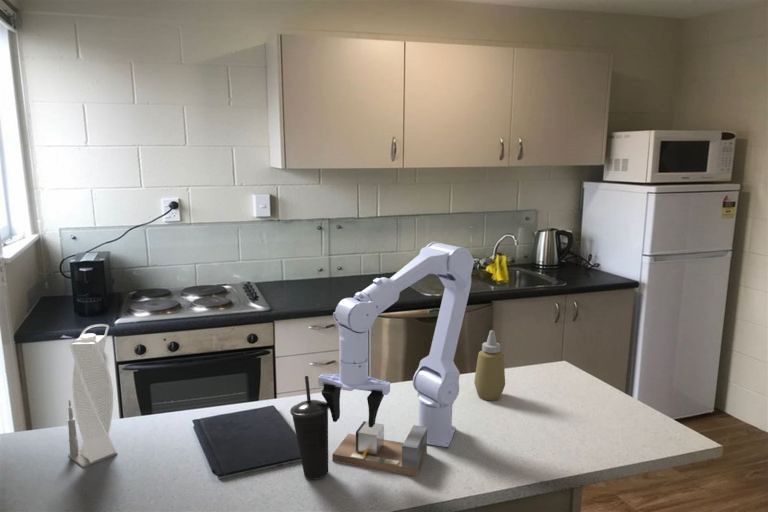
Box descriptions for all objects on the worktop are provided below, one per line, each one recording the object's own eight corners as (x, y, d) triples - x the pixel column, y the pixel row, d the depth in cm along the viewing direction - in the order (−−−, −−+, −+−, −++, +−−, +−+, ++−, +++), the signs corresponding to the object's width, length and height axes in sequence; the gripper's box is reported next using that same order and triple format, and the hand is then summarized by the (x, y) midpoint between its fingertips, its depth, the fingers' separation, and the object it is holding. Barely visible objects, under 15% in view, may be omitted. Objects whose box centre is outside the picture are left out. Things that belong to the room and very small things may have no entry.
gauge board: (348, 439, 129) (348, 414, 128) (426, 453, 124) (427, 427, 122) (332, 460, 120) (332, 434, 119) (416, 475, 115) (416, 448, 114)
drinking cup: (336, 462, 119) (327, 368, 117) (334, 480, 111) (324, 381, 109) (299, 466, 119) (289, 372, 117) (294, 484, 111) (284, 384, 109)
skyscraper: (108, 440, 127) (97, 319, 122) (126, 453, 122) (116, 326, 117) (68, 456, 121) (55, 328, 116) (85, 469, 116) (73, 337, 111)
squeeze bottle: (481, 404, 147) (484, 337, 144) (468, 391, 155) (471, 327, 152) (510, 401, 149) (513, 334, 146) (496, 388, 157) (499, 325, 154)
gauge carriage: (363, 440, 125) (363, 421, 124) (383, 443, 124) (384, 424, 123) (352, 456, 118) (352, 436, 118) (373, 460, 117) (373, 440, 116)
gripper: (311, 361, 112) (312, 426, 115) (383, 370, 108) (382, 436, 111) (325, 349, 119) (326, 410, 122) (393, 357, 115) (392, 420, 117)
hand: (353, 422), depth 117 cm, fingers open, 7 cm apart
